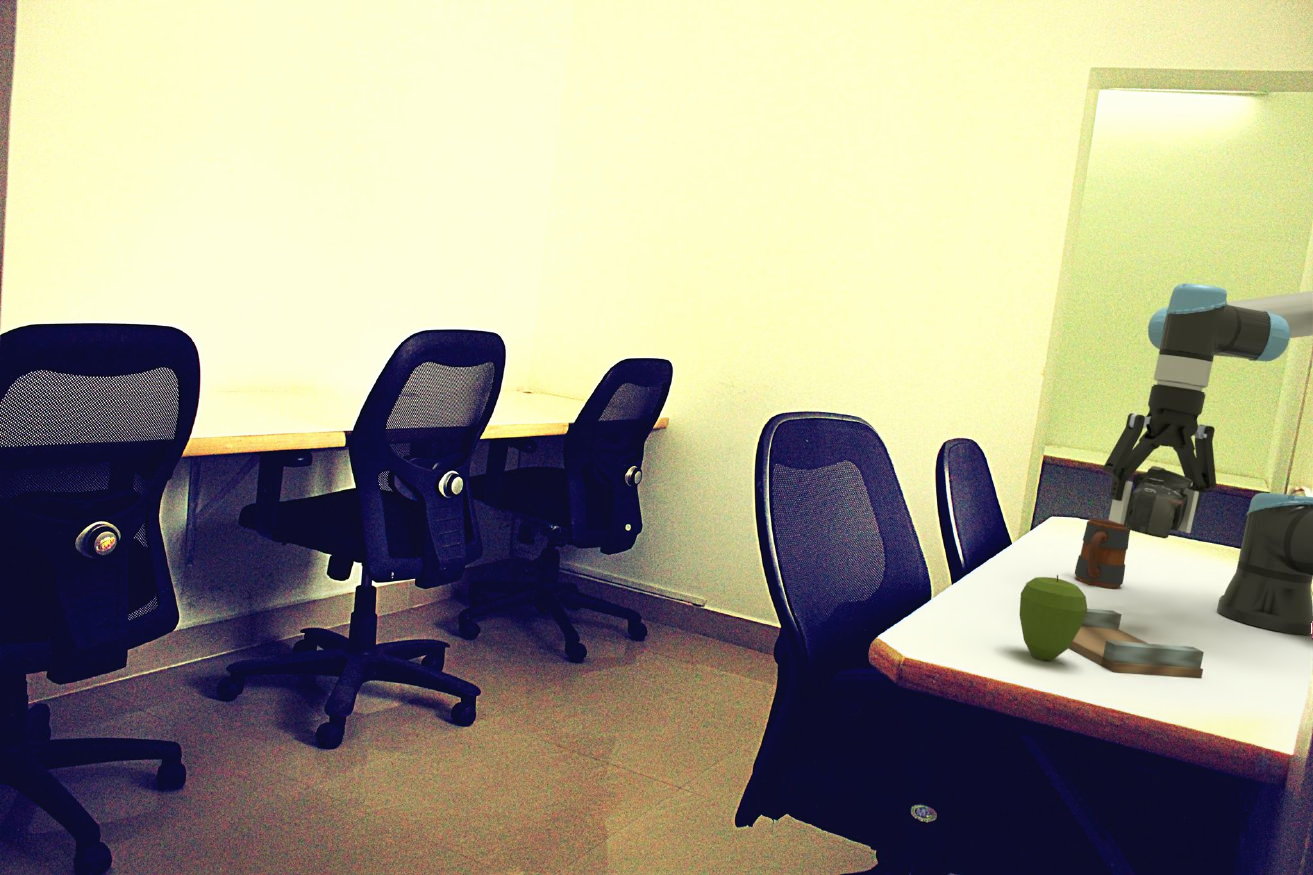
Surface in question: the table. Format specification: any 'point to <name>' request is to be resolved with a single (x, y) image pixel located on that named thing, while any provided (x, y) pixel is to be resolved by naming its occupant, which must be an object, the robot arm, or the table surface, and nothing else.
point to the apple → (1051, 615)
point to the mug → (1103, 554)
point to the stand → (1131, 649)
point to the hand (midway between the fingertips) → (1149, 526)
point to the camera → (1157, 502)
